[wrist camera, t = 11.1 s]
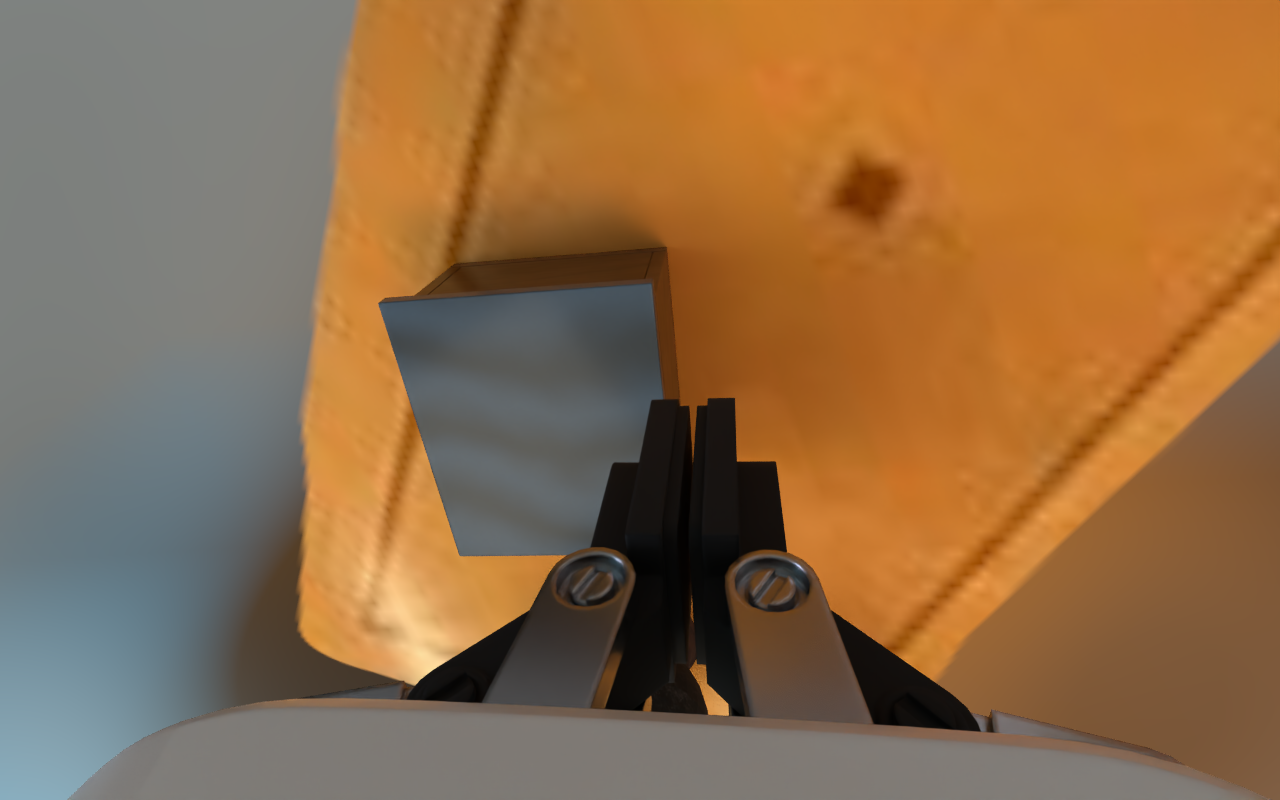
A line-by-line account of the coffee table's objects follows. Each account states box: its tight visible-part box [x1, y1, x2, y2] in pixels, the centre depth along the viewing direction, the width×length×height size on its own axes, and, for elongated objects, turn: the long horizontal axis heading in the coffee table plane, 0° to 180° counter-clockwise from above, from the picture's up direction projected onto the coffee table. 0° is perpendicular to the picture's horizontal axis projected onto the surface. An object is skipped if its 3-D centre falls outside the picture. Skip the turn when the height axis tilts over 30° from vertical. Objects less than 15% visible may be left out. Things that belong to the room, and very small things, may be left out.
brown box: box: [415, 247, 681, 406], centre depth 38 cm, size 16×14×9 cm
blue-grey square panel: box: [378, 278, 665, 556], centre depth 34 cm, size 16×14×1 cm
